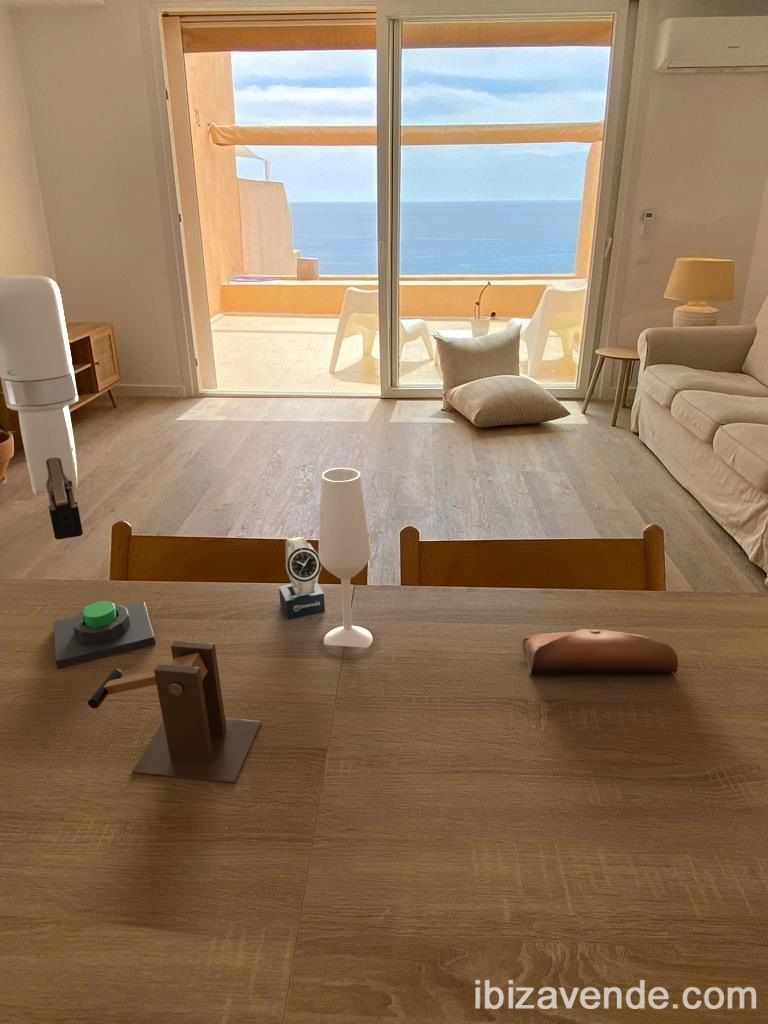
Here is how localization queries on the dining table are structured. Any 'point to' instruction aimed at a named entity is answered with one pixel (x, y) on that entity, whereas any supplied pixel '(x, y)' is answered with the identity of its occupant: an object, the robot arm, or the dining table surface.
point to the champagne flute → (344, 545)
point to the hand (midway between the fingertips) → (69, 534)
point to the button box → (102, 636)
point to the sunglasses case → (596, 652)
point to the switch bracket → (195, 724)
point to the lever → (139, 679)
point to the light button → (99, 614)
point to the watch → (301, 580)
